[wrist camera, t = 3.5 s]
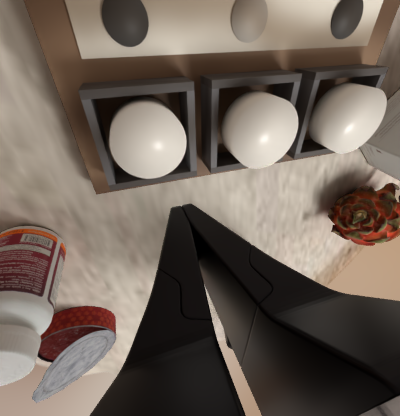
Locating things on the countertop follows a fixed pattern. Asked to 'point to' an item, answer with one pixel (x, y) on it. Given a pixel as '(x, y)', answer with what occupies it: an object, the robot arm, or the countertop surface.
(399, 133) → the supplement box
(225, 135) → the button middle
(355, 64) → the button board
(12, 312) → the pill bottle
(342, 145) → the button
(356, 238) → the dragon fruit
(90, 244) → the countertop surface
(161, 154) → the button
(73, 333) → the canned food
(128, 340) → the countertop surface
